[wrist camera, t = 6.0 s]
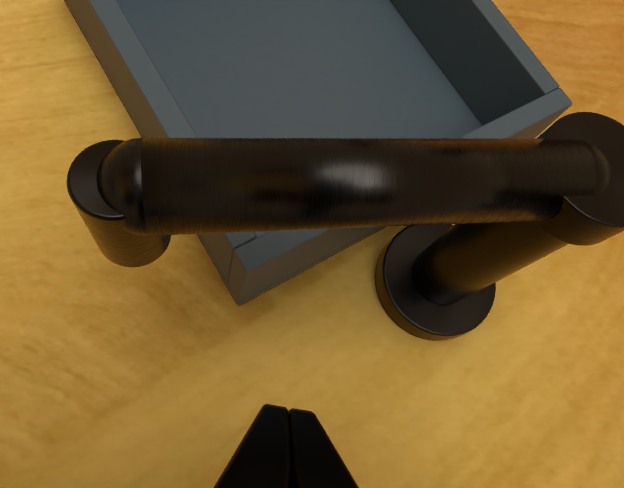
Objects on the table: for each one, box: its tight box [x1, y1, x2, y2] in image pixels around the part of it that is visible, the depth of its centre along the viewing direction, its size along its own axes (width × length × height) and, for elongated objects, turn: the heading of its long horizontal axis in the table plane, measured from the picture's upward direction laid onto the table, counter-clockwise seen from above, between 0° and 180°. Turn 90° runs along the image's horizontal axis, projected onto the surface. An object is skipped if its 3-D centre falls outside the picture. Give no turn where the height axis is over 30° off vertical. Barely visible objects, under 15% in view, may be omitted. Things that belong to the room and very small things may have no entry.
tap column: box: [375, 221, 569, 340], centre depth 16 cm, size 4×4×8 cm
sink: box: [64, 0, 572, 306], centre depth 20 cm, size 15×14×4 cm
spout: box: [67, 112, 624, 267], centre depth 11 cm, size 12×3×3 cm, turn 97°
